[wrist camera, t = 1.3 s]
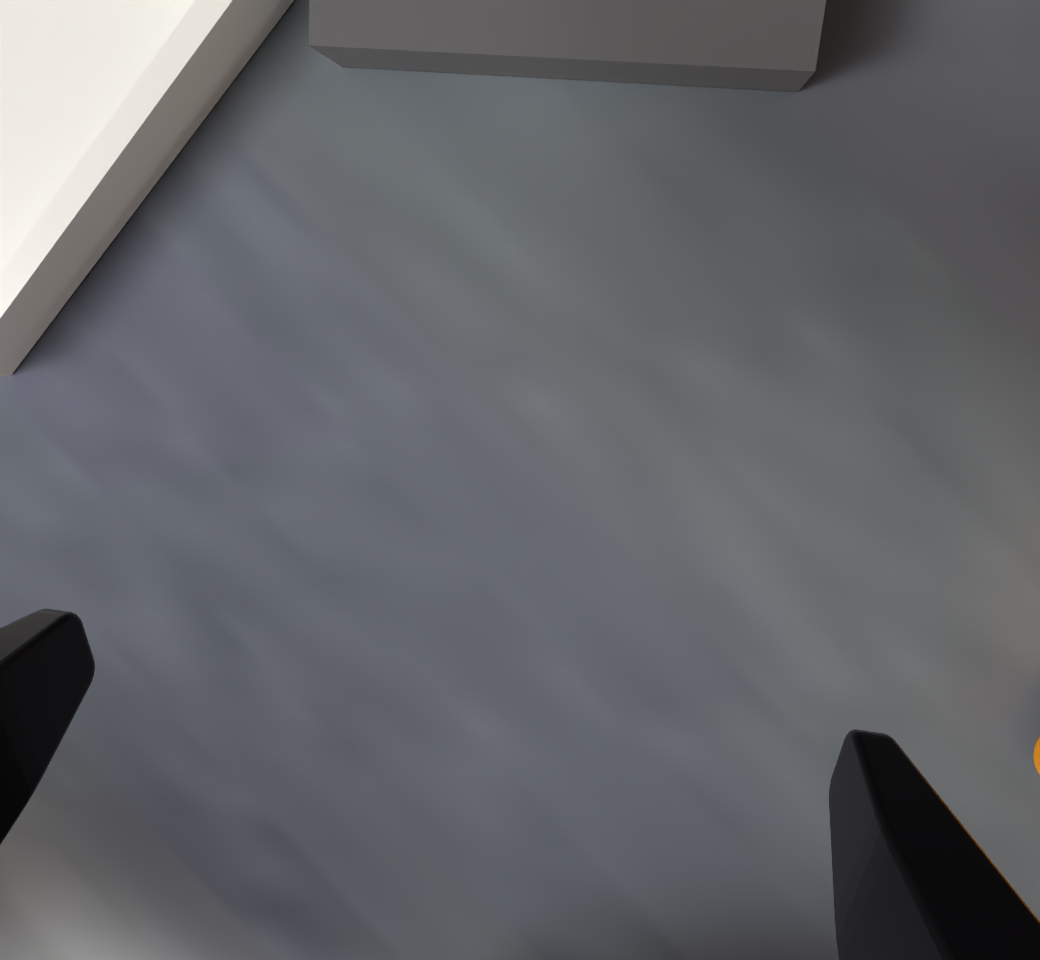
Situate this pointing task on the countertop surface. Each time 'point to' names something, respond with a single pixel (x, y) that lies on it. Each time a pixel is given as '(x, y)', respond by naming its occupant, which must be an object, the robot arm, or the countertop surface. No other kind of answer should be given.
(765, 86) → the fuse block
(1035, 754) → the bracket
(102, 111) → the tray
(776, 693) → the countertop surface
